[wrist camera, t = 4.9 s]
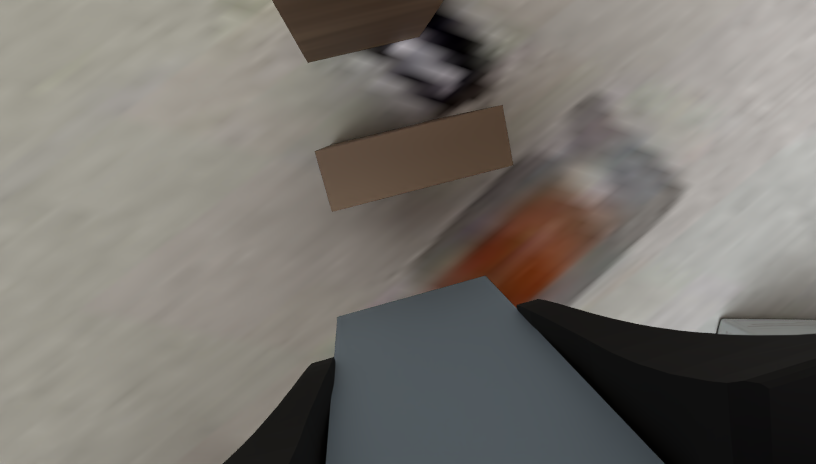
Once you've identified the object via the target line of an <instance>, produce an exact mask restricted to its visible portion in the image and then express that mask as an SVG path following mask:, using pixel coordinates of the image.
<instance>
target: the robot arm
mask: <svg viewBox="0 0 816 464" xmlns="http://www.w3.org/2000/svg"><path fill="white" fill-rule="evenodd" d="M517 310H518V311H519V312H520V314H521V315H522V316H523V317H524V318H525V319H526V320H527V321H528V322H529V323H530V324H531V325H532V326H533V327H534V328H535V329H537V330H538V331H539V333H540V334H541V335H542V336H543V337H544V338H545V339H546V340H547V341H548V342H549V343H550V344H551V345H552V346H553V347H554V348H555V349H556V350H557V351H558V352H559V353H560V355H561V356H562V357H563V358H564V359H565V360H566V361H567V362H568V363H569V364H570V365H571V366H572V367H573V368H574V369H575V370H576V371H577V372H578V373H579V374H580V375H581V377H582V378H583V379H584V380H585V381H586V382H587V383H588V384H589V385H590V386H591V387H592V388H593V389H594V390H595V391H596V392H597V393H598V394H599V395H600V396H601V397H602V399H603V400H604V401H605V402H606V403H607V404H608V405H609V406H610V407H611V408H612V409H613V410H614V411H615V412H616V413H617V414H618V415H619V416H620V417H621V418H622V419H623V421H624V422H625V423H626V424H627V425H628V426H629V427H630V428H631V429H632V430H633V431H634V432H635V433H636V434H637V435H638V436H639V437H640V438H641V439H642V440H643V441H644V442H645V444H646V445H647V446H648V447H649V448H650V449H651V450H652V451H653V452H654V453H655V454H656V455H657V456H658V457H659V458H660V459H661V460H662V461H663V462H664V463H665V464H816V334H800V335H729V334H713V333H698V332H688V331H678V330H671V329H664V328H657V327H650V326H645V325H639V324H634V323H630V322H625V321H621V320H616V319H612V318H608V317H604V316H600V315H596V314H592V313H589V312H585V311H582V310H578V309H575V308H571V307H568V306H564V305H561V304H557V303H554V302H550V301H546V300H540V299H537V300H533V301H530V302H526V303H522V304H519V305H517ZM335 364H336V362H335V359H334V357H333V358H329V359H326V360H322V361H319V362H315V363H312V364H311V365H310V366H309V367H308V368H307V369H306V370H305V372H304V373H303V374H302V376H301V377H300V378H299V379H298V381H297V382H296V383H295V385H294V386H293V387H292V389H291V390H290V391H289V392H288V394H287V395H286V396H285V397H284V399H283V400H282V401H281V403H280V404H279V405H278V406H277V408H276V409H275V410H274V411H273V412H272V413H271V414H270V416H269V417H268V418H267V419H266V420H265V421H264V422H263V424H262V425H261V426H260V427H259V428H258V429H257V430H256V432H255V433H254V434H253V435H252V436H251V437H250V438H249V439H248V440H247V441H246V442H245V443H244V444H243V445H242V446H241V447H240V448H239V449H238V450H237V451H236V452H235V453H234V454H233V455H232V456H231V457H229V458H228V459H227V460H226V461H225V462H224V463H223V464H326V455H327V442H328V429H329V417H330V404H331V396H332V391H333V387H334V378H335Z"/></svg>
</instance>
